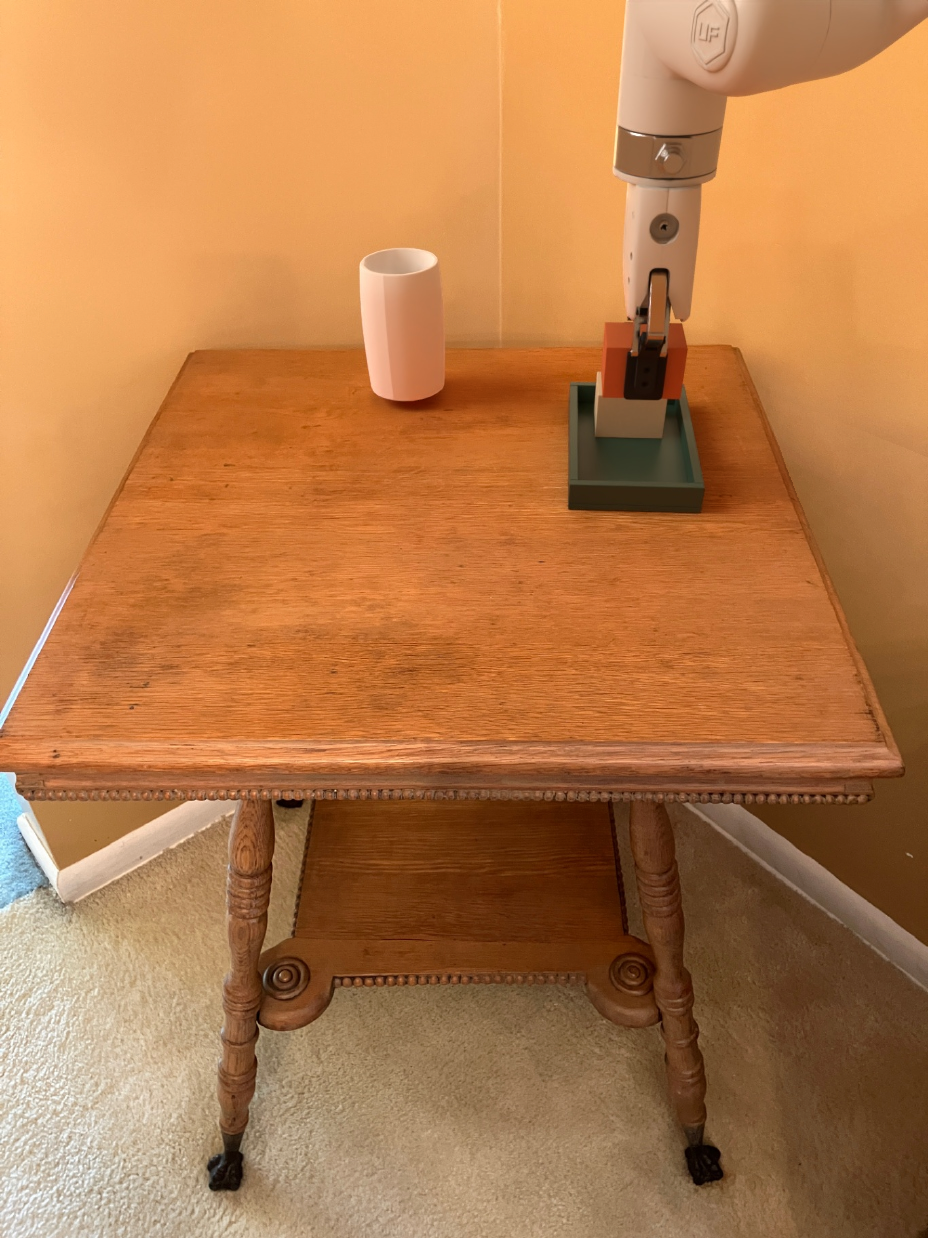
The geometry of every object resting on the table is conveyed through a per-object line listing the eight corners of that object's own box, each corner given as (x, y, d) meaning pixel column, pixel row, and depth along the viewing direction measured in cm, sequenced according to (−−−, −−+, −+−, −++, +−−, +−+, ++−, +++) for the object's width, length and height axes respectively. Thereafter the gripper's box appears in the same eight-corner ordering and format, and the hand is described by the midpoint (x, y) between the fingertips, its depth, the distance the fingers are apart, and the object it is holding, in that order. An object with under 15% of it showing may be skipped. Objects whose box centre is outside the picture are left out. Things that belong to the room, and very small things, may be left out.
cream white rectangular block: (662, 438, 89) (667, 396, 86) (594, 437, 89) (598, 394, 87) (658, 413, 93) (663, 372, 90) (593, 412, 93) (597, 371, 90)
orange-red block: (680, 399, 76) (687, 348, 74) (602, 397, 77) (606, 347, 74) (675, 372, 80) (682, 322, 77) (600, 370, 81) (604, 321, 78)
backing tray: (700, 513, 80) (705, 487, 78) (567, 509, 81) (569, 484, 79) (681, 406, 95) (684, 383, 93) (568, 404, 96) (569, 381, 94)
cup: (459, 382, 100) (454, 250, 91) (431, 418, 94) (423, 280, 85) (387, 372, 103) (376, 242, 93) (356, 406, 97) (341, 271, 88)
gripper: (734, 186, 60) (694, 433, 72) (705, 122, 73) (676, 340, 85) (618, 186, 60) (598, 431, 72) (610, 122, 73) (594, 339, 85)
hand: (640, 380), depth 78 cm, fingers closed on orange-red block, 5 cm apart
